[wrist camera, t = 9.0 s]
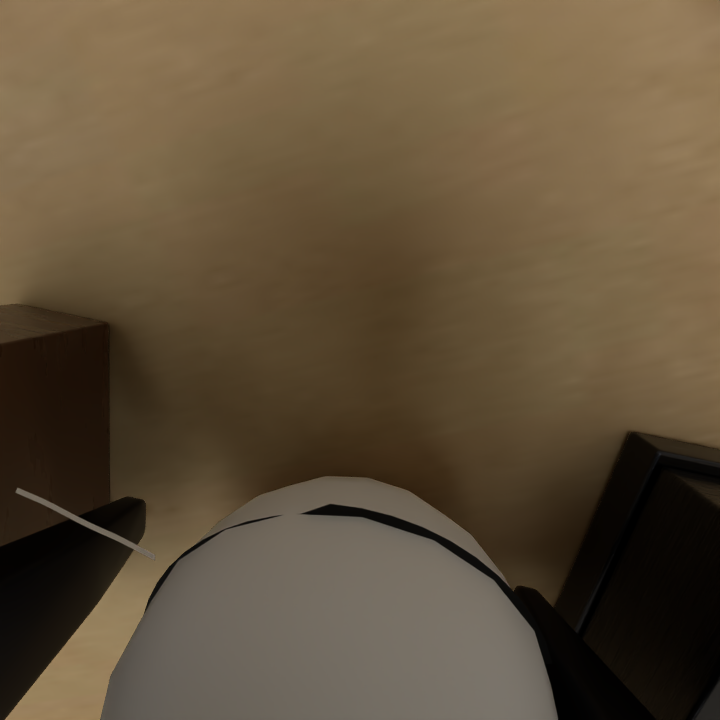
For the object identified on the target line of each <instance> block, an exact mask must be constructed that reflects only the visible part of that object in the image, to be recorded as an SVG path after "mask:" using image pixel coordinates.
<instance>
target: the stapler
mask: <svg viewBox="0 0 720 720" xmlns="http://www.w3.org/2000/svg"><path fill="white" fill-rule="evenodd" d="M554 609H555V610H556V611H557V612H558V613H559V615H560V616H561V617H562V618H563V619H564V620H565V621H566V622H567V623H568V624H569V625H570V626H571V628H572V629H573V630H574V631H575V632H576V633H577V634H578V635H579V636H580V637H581V638H582V639H583V640H584V642H585V643H586V644H587V645H588V646H589V647H590V648H591V649H592V650H593V651H594V652H595V653H596V655H597V656H598V657H599V658H600V659H601V660H602V661H603V662H604V663H605V664H606V665H607V666H608V668H609V669H610V670H611V671H612V672H613V673H614V674H615V675H616V676H617V677H618V678H619V679H620V680H621V682H622V683H623V684H624V685H625V686H626V687H627V688H628V689H629V690H630V691H631V692H632V693H633V695H634V696H635V697H636V698H637V699H638V700H639V701H640V702H641V703H642V704H643V705H644V706H645V707H646V709H647V710H648V711H649V712H650V713H651V714H652V715H653V716H654V717H655V718H656V719H657V720H720V450H718V449H714V448H709V447H704V446H699V445H694V444H689V443H685V442H680V441H675V440H670V439H665V438H660V437H656V436H651V435H646V434H641V433H636V432H631V433H630V434H629V436H628V439H627V441H626V443H625V446H624V448H623V450H622V452H621V455H620V457H619V459H618V462H617V464H616V466H615V469H614V471H613V473H612V476H611V478H610V480H609V483H608V485H607V487H606V490H605V492H604V494H603V497H602V499H601V501H600V504H599V506H598V508H597V511H596V513H595V515H594V518H593V520H592V522H591V525H590V527H589V529H588V532H587V534H586V536H585V539H584V541H583V543H582V545H581V548H580V550H579V552H578V555H577V557H576V559H575V562H574V564H573V566H572V569H571V571H570V573H569V576H568V578H567V580H566V583H565V585H564V587H563V590H562V592H561V594H560V597H559V599H558V601H557V604H556V606H555V608H554Z"/></svg>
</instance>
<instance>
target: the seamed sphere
mask: <svg viewBox="0 0 720 720" xmlns="http://www.w3.org/2000/svg"><path fill="white" fill-rule="evenodd" d="M15 493H17V494H20V495H22V496H24V497H27V498H29V499H31V500H34V501H36V502H38V503H41V504H43V505H45V506H47V507H49V508H51V509H53V510H55V511H57V512H58V513H60V514H62V515H64V516H66V517H68V518H70V519H72V520H74V521H76V522H78V523H80V524H82V525H84V526H86V527H88V528H90V529H92V530H94V531H96V532H98V533H101V534H103V535H105V536H107V537H110V538H112V539H114V540H116V541H118V542H120V543H122V544H124V545H126V546H128V547H130V548H132V549H134V550H136V551H138V552H140V553H141V554H143V555H145V556H147V557H149V558H151V559H153V560H154V561H155V555H154V554H153V553H151V552H149V551H147V550H145V549H143V548H141V547H140V546H138V545H136V544H134V543H132V542H130V541H128V540H126V539H124V538H122V537H120V536H118V535H116V534H114V533H112V532H110V531H107V530H105V529H103V528H101V527H98V526H96V525H94V524H92V523H90V522H88V521H86V520H84V519H82V518H80V517H78V516H76V515H74V514H72V513H70V512H68V511H66V510H64V509H62V508H60V507H59V506H57V505H55V504H53V503H51V502H49V501H47V500H45V499H43V498H40V497H38V496H36V495H33V494H31V493H29V492H27V491H24V490H22V489H20V488H17V490H16V492H15ZM545 664H553V663H552V659H551V656H550V653H549V650H548V647H547V644H546V641H545V639H544V637H543V635H542V633H541V631H540V629H539V627H538V625H537V623H536V622H535V620H534V618H533V617H532V615H531V614H530V612H529V611H528V609H527V608H526V607H525V605H524V604H523V602H522V601H521V600H520V598H519V597H518V596H517V595H516V594H515V593H514V592H513V590H512V589H511V588H510V586H509V584H508V583H507V581H506V579H505V577H504V576H503V574H502V573H501V572H500V570H499V569H498V568H497V567H496V565H495V564H494V563H493V562H492V560H491V559H490V558H489V557H488V555H487V554H486V553H485V551H484V550H483V549H482V548H481V546H480V545H479V544H478V543H477V541H476V540H475V539H474V538H473V536H472V535H471V534H470V533H468V532H467V531H466V530H464V529H463V528H462V527H460V526H459V525H458V524H456V523H455V522H454V521H452V520H451V519H450V518H448V517H447V516H446V515H444V514H443V513H441V512H440V511H438V510H437V509H435V508H434V507H432V506H431V505H429V504H428V503H426V502H425V501H423V500H422V499H420V498H419V497H417V496H416V495H414V494H413V493H411V492H410V491H408V490H405V489H402V488H399V487H396V486H392V485H389V484H386V483H383V482H380V481H377V480H374V479H371V478H365V477H336V476H324V477H320V478H317V479H313V480H309V481H305V482H301V483H298V484H294V485H290V486H286V487H283V488H280V489H277V490H274V491H271V492H268V493H265V494H262V495H259V496H257V497H255V498H254V499H252V500H251V501H249V502H248V503H246V504H245V505H243V506H242V507H240V508H239V509H237V510H236V511H234V512H233V513H231V514H230V515H228V516H227V517H225V518H224V519H222V520H221V521H219V522H218V523H217V524H216V525H215V526H214V527H213V528H212V529H211V530H210V531H209V532H208V533H207V534H206V535H205V536H203V537H202V538H201V539H200V540H199V541H198V542H197V543H196V544H195V545H194V546H193V547H191V548H190V549H189V550H187V551H186V552H184V553H183V554H182V555H181V556H180V557H179V558H178V559H177V560H176V561H175V562H174V563H173V564H172V565H171V566H170V567H169V568H168V569H167V570H166V572H165V573H164V574H163V576H162V577H161V578H160V580H159V581H158V582H157V584H156V586H155V588H154V590H153V592H152V594H151V596H150V598H149V600H148V603H147V606H146V609H145V612H144V615H143V617H142V619H141V621H140V623H139V624H138V626H137V628H136V630H135V632H134V634H133V635H132V637H131V639H130V641H129V643H128V645H127V647H126V648H125V650H124V652H123V654H122V656H121V658H120V659H119V661H118V663H117V665H116V667H115V669H114V671H113V672H112V674H111V676H110V681H109V685H108V689H107V693H106V697H105V702H104V706H103V710H102V714H101V719H100V720H558V715H557V711H556V706H555V701H554V697H553V692H552V687H551V683H550V680H549V677H548V674H547V670H546V667H545Z"/></svg>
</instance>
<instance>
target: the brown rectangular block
mask: <svg viewBox="0 0 720 720" xmlns="http://www.w3.org/2000/svg"><path fill="white" fill-rule="evenodd" d="M17 488H20V489H22V490H24V491H27V492H29V493H31V494H33V495H36V496H38V497H40V498H43V499H45V500H47V501H49V502H51V503H53V504H55V505H57V506H59V507H60V508H62V509H64V510H66V511H68V512H70V513H72V514H74V515H76V516H79V515H81V514H84V513H86V512H89V511H91V510H94V509H96V508H99V507H101V506H104V505H106V504H109V329H108V323H107V322H102V321H97V320H93V319H88V318H83V317H78V316H73V315H68V314H64V313H59V312H54V311H49V310H44V309H39V308H35V307H30V306H25V305H20V304H10V305H0V547H1V546H3V545H6V544H8V543H11V542H13V541H16V540H18V539H21V538H23V537H26V536H28V535H31V534H33V533H36V532H38V531H41V530H43V529H46V528H48V527H51V526H53V525H56V524H59V523H61V522H64V521H66V520H69V519H70V518H68V517H66V516H64V515H62V514H60V513H58V512H57V511H55V510H53V509H51V508H49V507H47V506H45V505H43V504H41V503H38V502H36V501H34V500H31V499H29V498H27V497H24V496H22V495H20V494H17V493H15V492H16V490H17Z"/></svg>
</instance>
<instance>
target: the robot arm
mask: <svg viewBox="0 0 720 720" xmlns="http://www.w3.org/2000/svg"><path fill="white" fill-rule="evenodd" d="M78 517H80V518H82V519H84V520H86V521H88V522H90V523H92V524H94V525H96V526H98V527H101V528H103V529H105V530H107V531H110V532H112V533H114V534H116V535H118V536H120V537H122V538H124V539H126V540H128V541H130V542H132V543H134V544H136V545H137V544H138V543H139V541H140V540H141V538H142V536H143V534H144V531H145V523H146V503H145V501H144V500H143V499H139V498H134V497H124V498H122V499H119V500H116V501H114V502H111V503H109V504H106V505H104V506H101V507H99V508H96V509H94V510H91V511H89V512H86V513H84V514H81V515H79V516H78ZM133 550H134V549H132V548H130V547H128V546H126V545H124V544H122V543H120V542H118V541H116V540H114V539H112V538H110V537H107V536H105V535H103V534H101V533H98V532H96V531H94V530H92V529H90V528H88V527H86V526H84V525H82V524H80V523H78V522H76V521H74V520H72V519H69V520H66V521H64V522H61V523H59V524H56V525H53V526H51V527H48V528H46V529H43V530H41V531H38V532H36V533H33V534H31V535H28V536H26V537H23V538H21V539H18V540H16V541H13V542H11V543H8V544H6V545H3V546H1V547H0V720H5V719H6V717H7V716H8V715H9V714H10V712H11V711H12V710H13V709H14V707H15V706H16V705H17V704H18V702H19V701H20V700H21V699H22V697H23V696H24V695H25V694H26V692H27V691H28V690H29V689H30V687H31V686H32V685H33V684H34V682H35V681H36V680H37V679H38V677H39V676H40V675H41V674H42V672H43V671H44V670H45V669H46V668H47V666H48V665H49V664H50V663H51V661H52V660H53V659H54V658H55V656H56V655H57V654H58V653H59V651H60V650H61V649H62V648H63V646H64V645H65V644H66V643H67V641H68V640H69V639H70V638H71V636H72V635H73V634H74V633H75V631H76V630H77V629H78V628H79V626H80V625H81V624H82V623H83V621H84V620H85V619H86V618H87V616H88V615H89V614H90V613H91V611H92V610H93V609H94V607H95V606H96V605H97V603H98V602H99V601H100V599H101V598H102V596H103V595H104V594H105V592H106V591H107V589H108V588H109V586H110V585H111V583H112V582H113V580H114V579H115V577H116V576H117V574H118V573H119V571H120V570H121V568H122V567H123V565H124V564H125V562H126V561H127V559H128V558H129V556H130V555H131V553H132V552H133ZM514 593H515V594H516V595H517V596H518V597H519V598H520V600H521V601H522V602H523V604H524V605H525V607H526V608H527V609H528V611H529V612H530V614H531V615H532V617H533V618H534V620H535V622H536V623H537V625H538V627H539V629H540V631H541V633H542V635H543V637H544V639H545V641H546V644H547V647H548V650H549V653H550V656H551V659H552V663H553V664H545V667H546V670H547V674H548V677H549V680H550V683H551V687H552V692H553V697H554V701H555V706H556V711H557V715H558V720H657V719H656V718H655V717H654V716H653V715H652V714H651V713H650V712H649V711H648V710H647V709H646V707H645V706H644V705H643V704H642V703H641V702H640V701H639V700H638V699H637V698H636V697H635V696H634V695H633V693H632V692H631V691H630V690H629V689H628V688H627V687H626V686H625V685H624V684H623V683H622V682H621V680H620V679H619V678H618V677H617V676H616V675H615V674H614V673H613V672H612V671H611V670H610V669H609V668H608V666H607V665H606V664H605V663H604V662H603V661H602V660H601V659H600V658H599V657H598V656H597V655H596V653H595V652H594V651H593V650H592V649H591V648H590V647H589V646H588V645H587V644H586V643H585V642H584V640H583V639H582V638H581V637H580V636H579V635H578V634H577V633H576V632H575V631H574V630H573V629H572V628H571V626H570V625H569V624H568V623H567V622H566V621H565V620H564V619H563V618H562V617H561V616H560V615H559V613H558V612H557V611H556V610H555V609H554V608H553V607H552V606H551V605H550V604H549V603H548V602H547V600H546V599H545V598H544V597H543V596H542V595H541V594H540V593H539V592H538V591H537V590H535V589H533V588H528V587H524V586H517V587H516V588H515V590H514Z"/></svg>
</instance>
